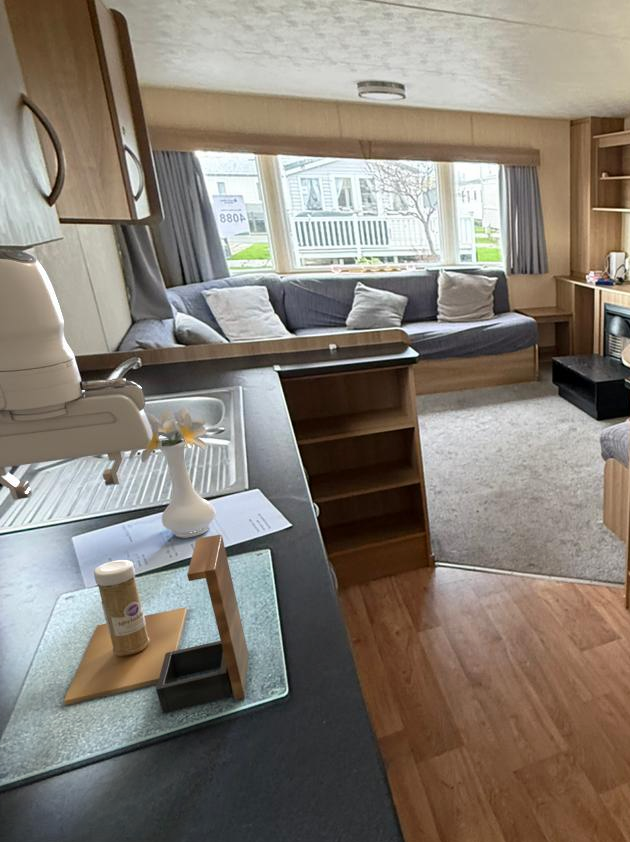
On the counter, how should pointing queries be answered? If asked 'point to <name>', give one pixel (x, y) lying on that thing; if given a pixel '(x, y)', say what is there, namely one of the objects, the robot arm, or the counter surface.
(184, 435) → the flower vase
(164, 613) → the cork mat
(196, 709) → the counter surface
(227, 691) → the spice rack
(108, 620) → the sprinkles bottle
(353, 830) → the counter surface
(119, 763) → the counter surface
